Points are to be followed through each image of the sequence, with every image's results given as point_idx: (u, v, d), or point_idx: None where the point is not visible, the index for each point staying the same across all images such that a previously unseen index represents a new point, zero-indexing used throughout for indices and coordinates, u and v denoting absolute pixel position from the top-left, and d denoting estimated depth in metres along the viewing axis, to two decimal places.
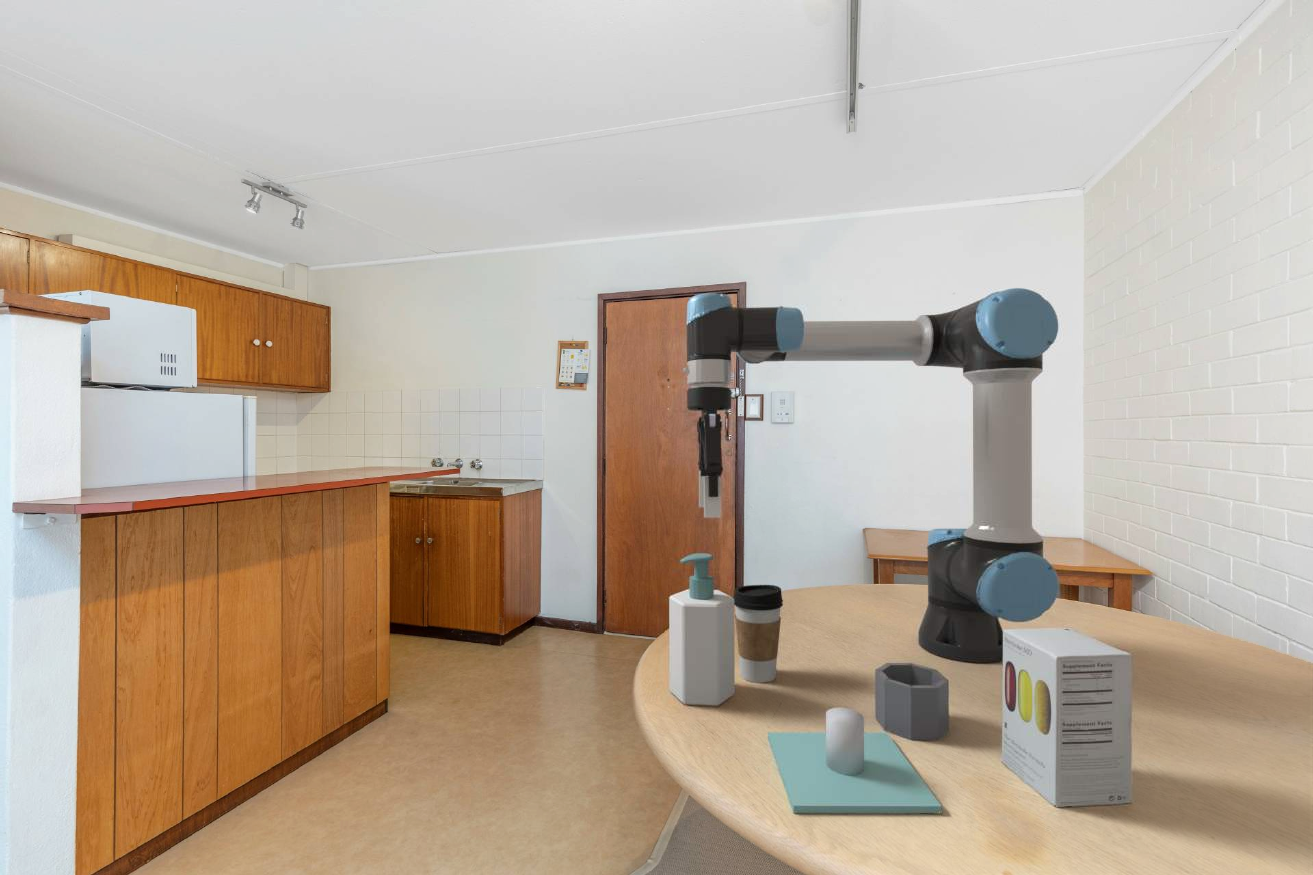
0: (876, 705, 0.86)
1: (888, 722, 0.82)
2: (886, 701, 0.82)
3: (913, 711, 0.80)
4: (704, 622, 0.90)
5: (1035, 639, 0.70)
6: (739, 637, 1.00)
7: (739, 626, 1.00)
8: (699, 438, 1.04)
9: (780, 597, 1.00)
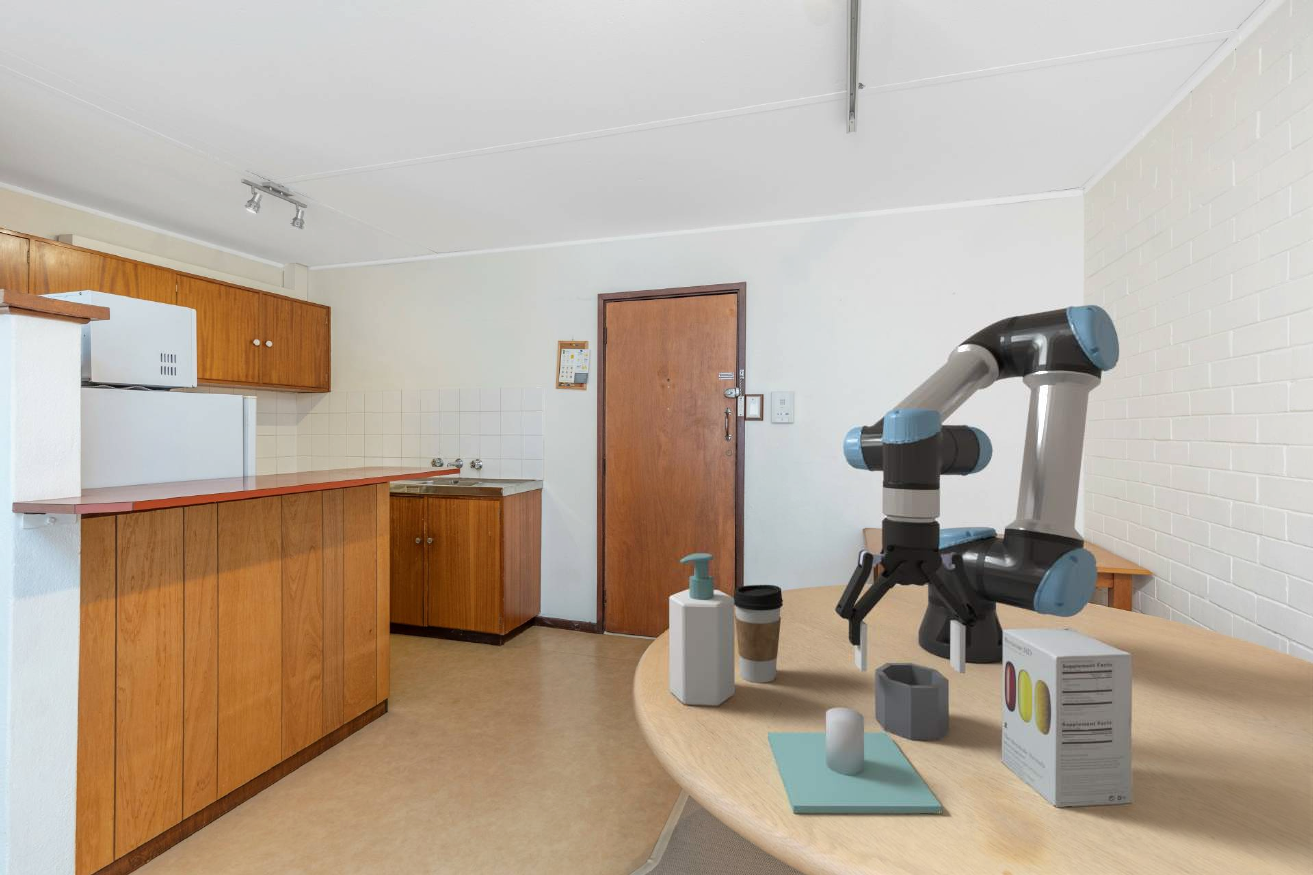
0: (876, 705, 0.86)
1: (888, 722, 0.82)
2: (886, 701, 0.82)
3: (913, 711, 0.80)
4: (705, 622, 0.90)
5: (1034, 639, 0.70)
6: (739, 637, 1.00)
7: (739, 626, 1.00)
8: None
9: (780, 597, 1.00)
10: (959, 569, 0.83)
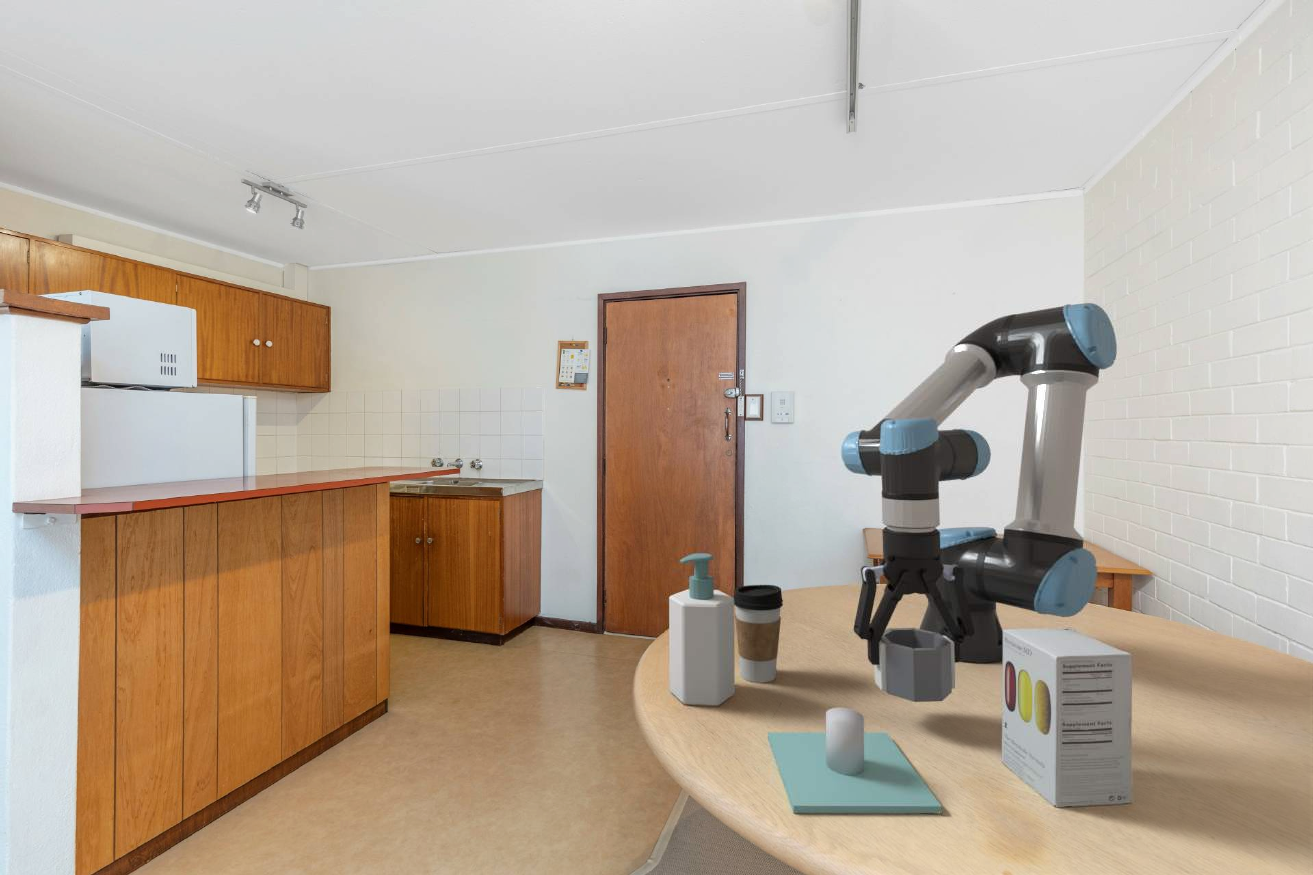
0: None
1: (891, 685, 0.82)
2: (889, 665, 0.83)
3: (916, 673, 0.80)
4: (704, 622, 0.90)
5: (1035, 639, 0.70)
6: (739, 637, 1.00)
7: (739, 626, 1.00)
8: None
9: (780, 597, 1.00)
10: (958, 582, 0.83)
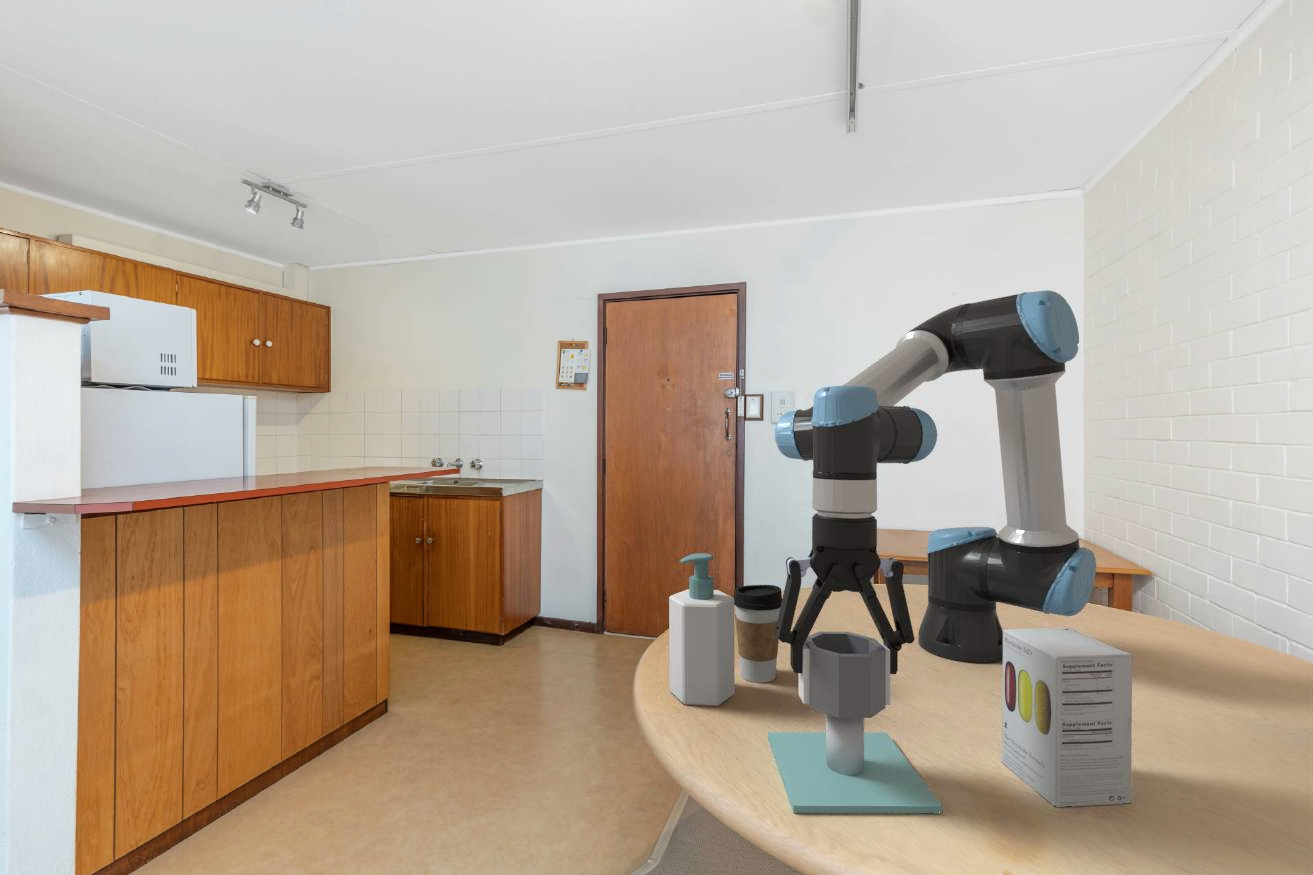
0: None
1: (814, 697, 0.70)
2: (812, 673, 0.70)
3: (841, 683, 0.68)
4: (704, 622, 0.90)
5: (1034, 639, 0.70)
6: (739, 637, 1.00)
7: (739, 626, 1.00)
8: None
9: (780, 597, 1.00)
10: (897, 579, 0.71)
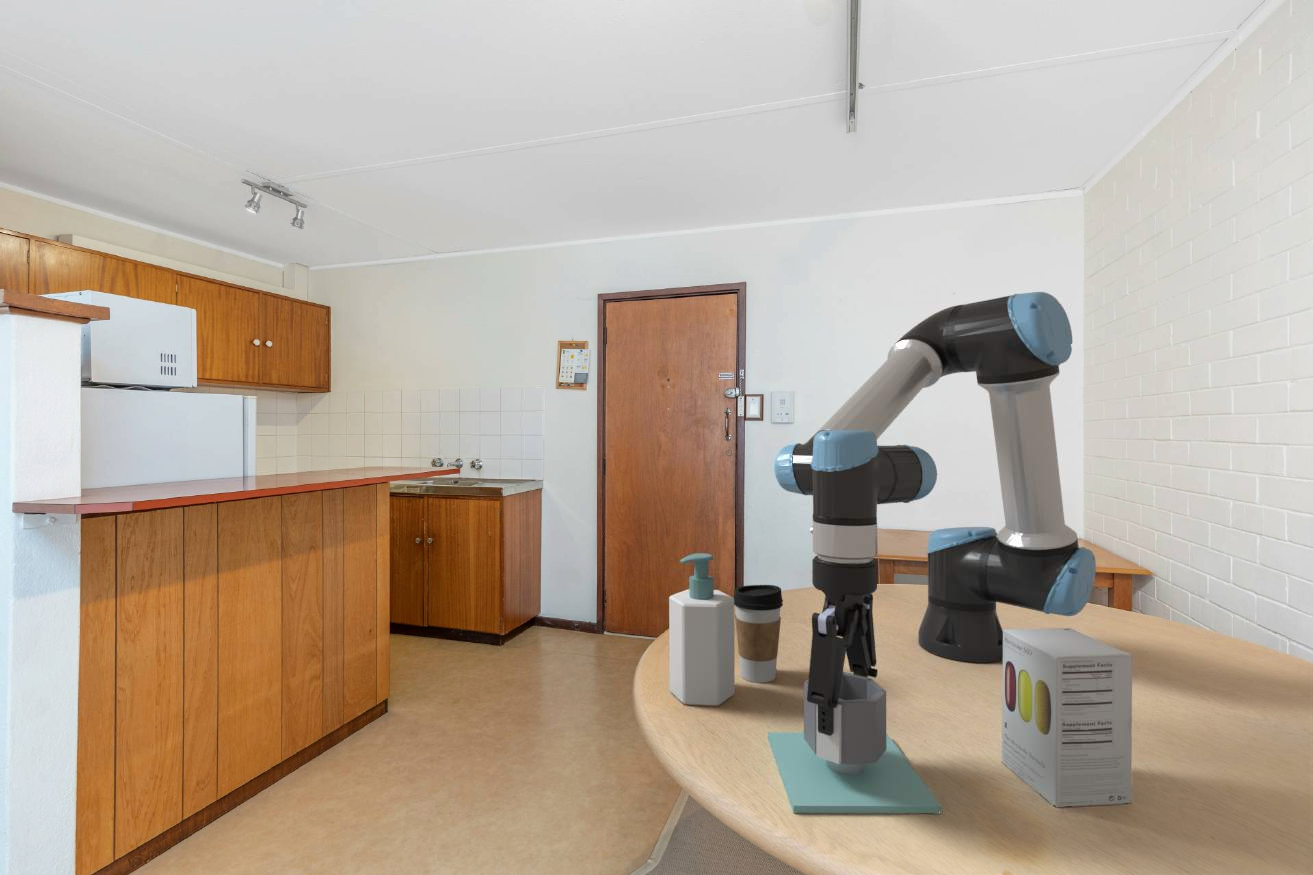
0: None
1: (850, 753, 0.68)
2: (847, 728, 0.68)
3: (876, 728, 0.68)
4: (704, 622, 0.90)
5: (1035, 639, 0.70)
6: (739, 637, 1.00)
7: (739, 626, 1.00)
8: None
9: (780, 597, 1.00)
10: (870, 610, 0.76)
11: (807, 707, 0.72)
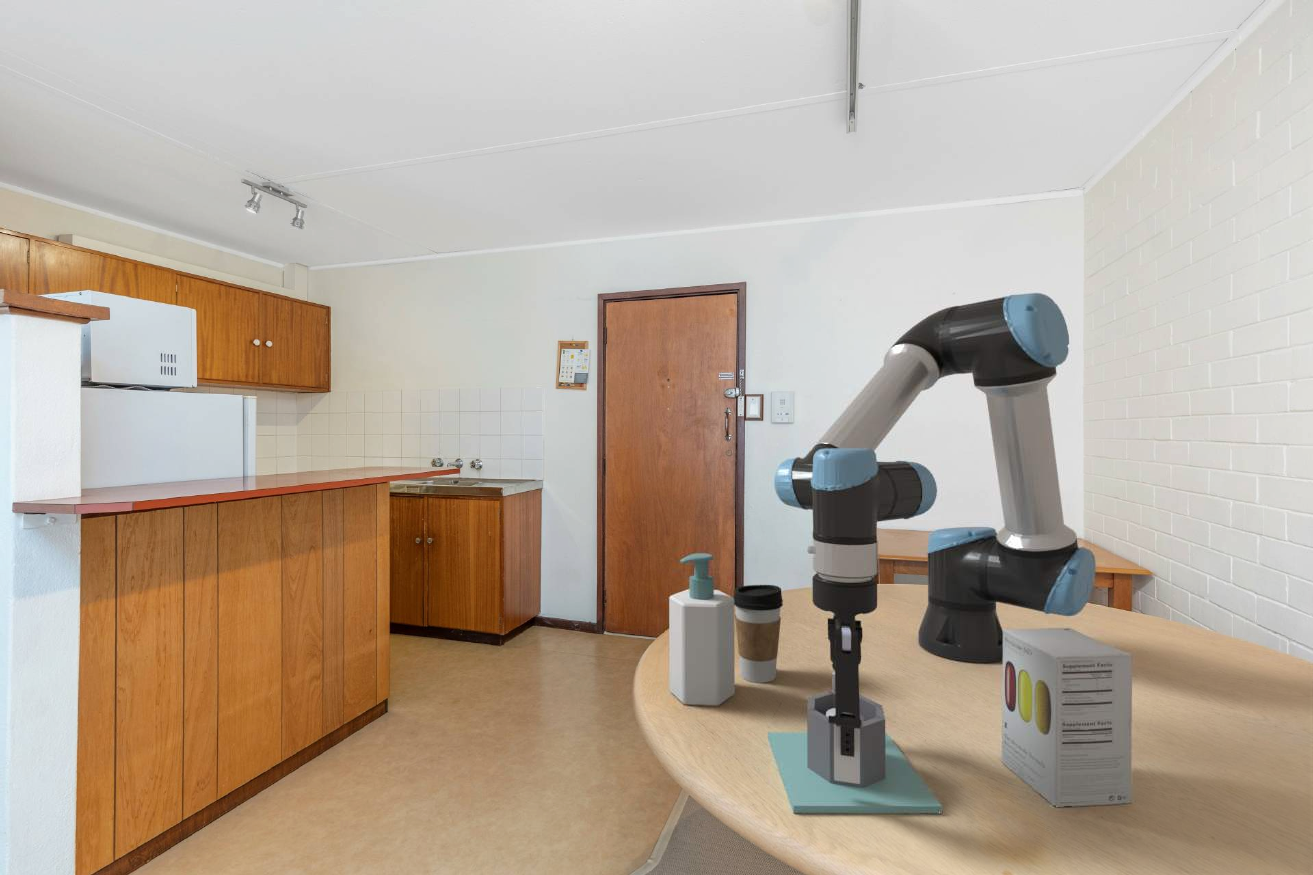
0: None
1: (866, 775, 0.68)
2: (864, 751, 0.68)
3: (884, 744, 0.70)
4: (704, 622, 0.90)
5: (1035, 639, 0.70)
6: (739, 637, 1.00)
7: (739, 626, 1.00)
8: None
9: (780, 597, 1.00)
10: None
11: (814, 735, 0.71)
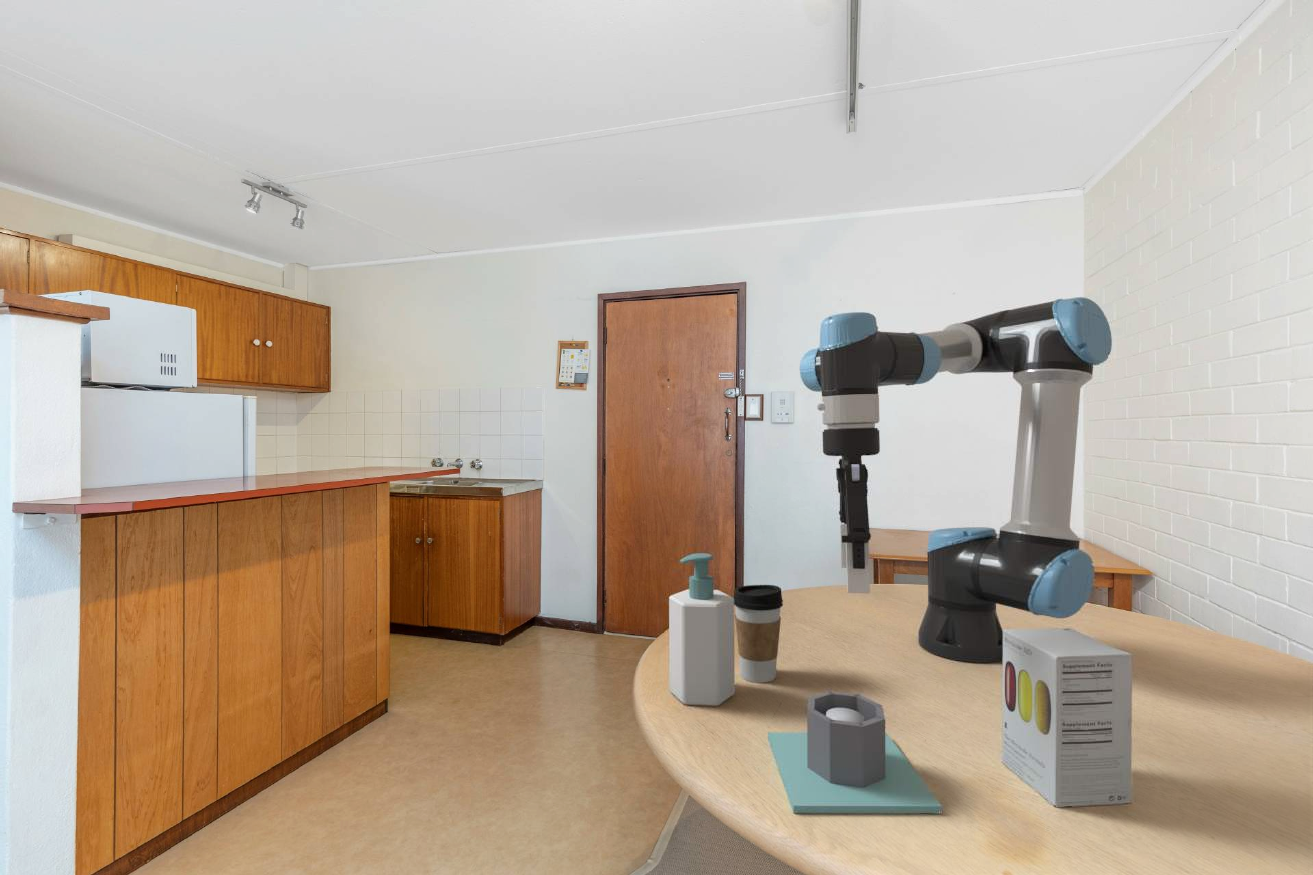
0: (834, 766, 0.68)
1: (866, 775, 0.68)
2: (864, 751, 0.68)
3: (884, 744, 0.70)
4: (704, 622, 0.90)
5: (1034, 639, 0.70)
6: (739, 637, 1.00)
7: (739, 626, 1.00)
8: (839, 487, 0.85)
9: (780, 597, 1.00)
10: None
11: (814, 735, 0.71)
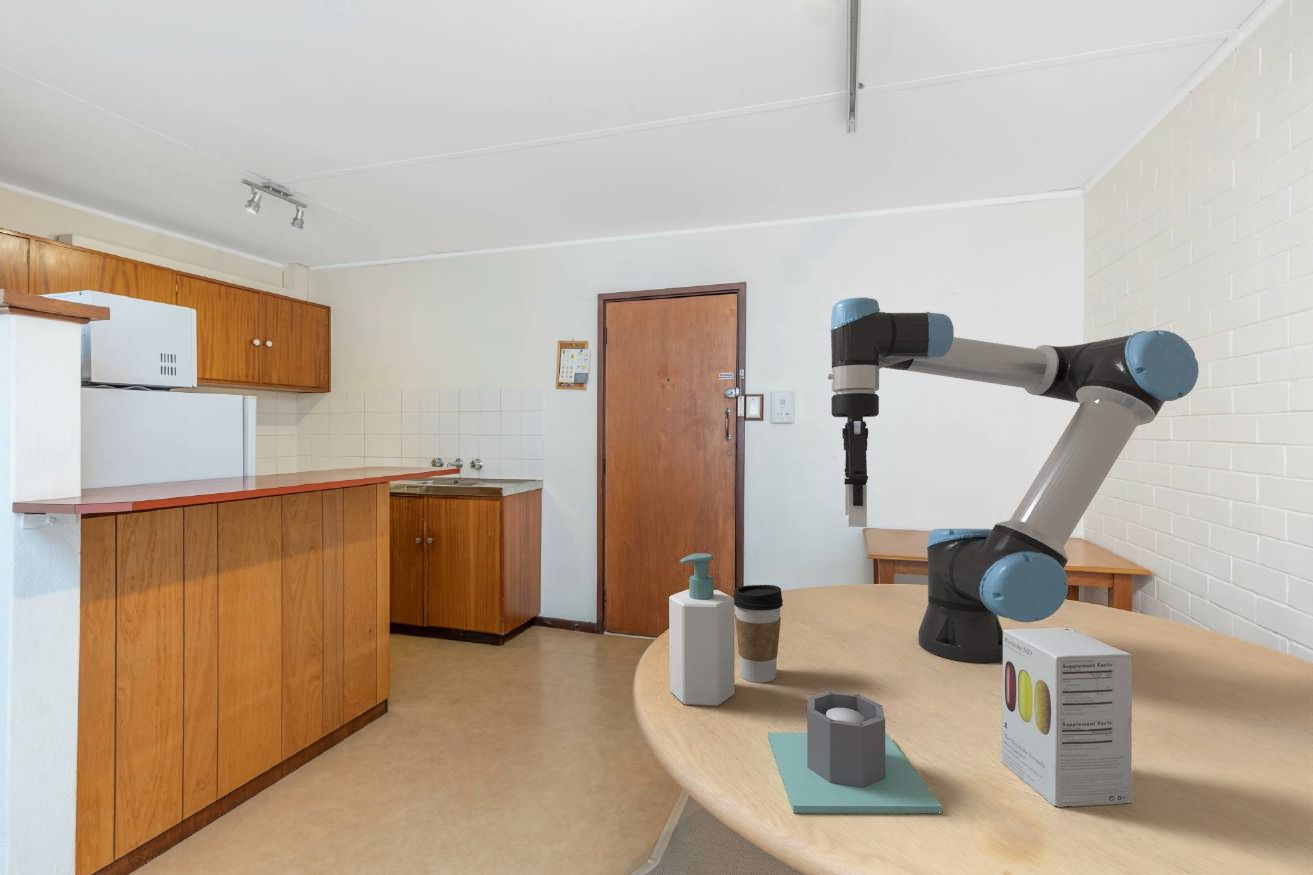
0: (834, 766, 0.68)
1: (866, 775, 0.68)
2: (864, 751, 0.68)
3: (884, 744, 0.70)
4: (704, 622, 0.90)
5: (1034, 639, 0.70)
6: (739, 637, 1.00)
7: (739, 626, 1.00)
8: (845, 445, 1.02)
9: (780, 597, 1.00)
10: None
11: (814, 735, 0.71)
